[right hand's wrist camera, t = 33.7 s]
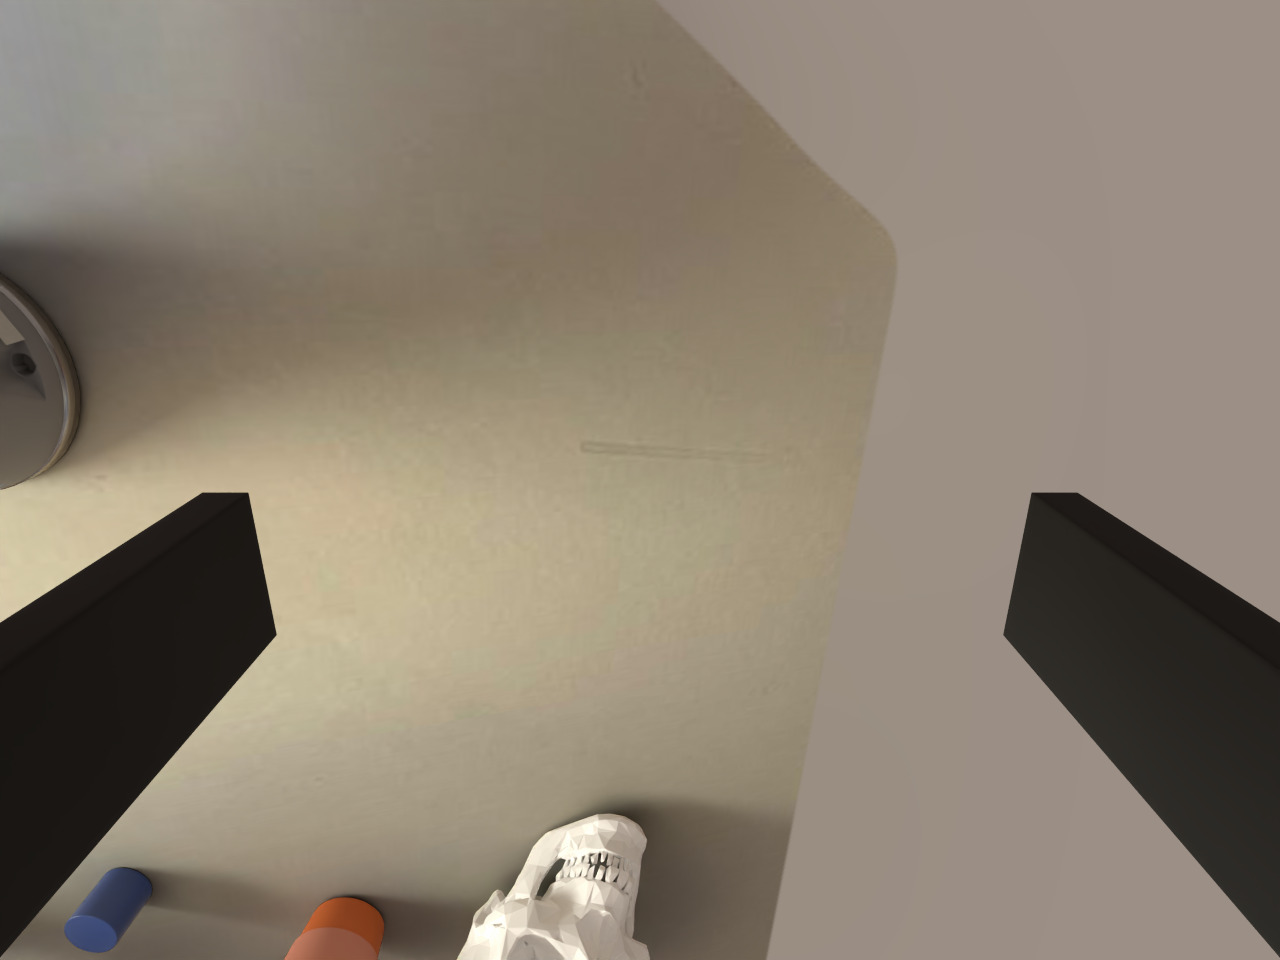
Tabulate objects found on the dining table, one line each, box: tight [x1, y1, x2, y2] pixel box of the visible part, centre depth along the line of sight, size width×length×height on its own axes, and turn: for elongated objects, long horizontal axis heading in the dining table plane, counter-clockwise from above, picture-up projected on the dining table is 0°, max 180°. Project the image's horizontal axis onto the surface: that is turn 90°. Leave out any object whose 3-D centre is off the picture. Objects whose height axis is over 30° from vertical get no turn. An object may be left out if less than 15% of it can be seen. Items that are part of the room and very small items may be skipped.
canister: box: [64, 868, 152, 953], centre depth 60 cm, size 4×4×4 cm
